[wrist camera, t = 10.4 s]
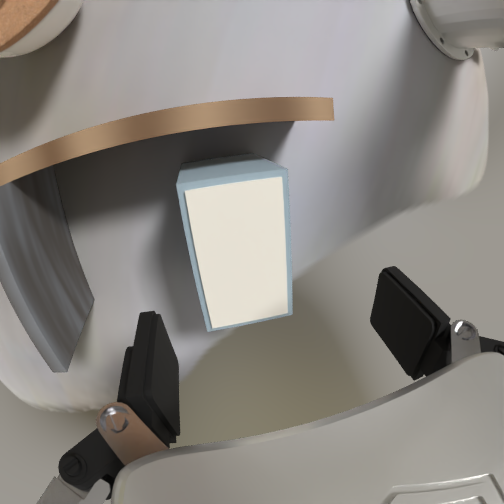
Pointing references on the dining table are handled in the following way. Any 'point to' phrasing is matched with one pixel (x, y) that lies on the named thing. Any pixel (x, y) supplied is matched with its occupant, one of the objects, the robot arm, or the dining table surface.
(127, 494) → the robot arm
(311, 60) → the dining table surface
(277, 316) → the boxed book
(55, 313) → the shelf
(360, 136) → the dining table surface
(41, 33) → the lidded jar
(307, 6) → the dining table surface
